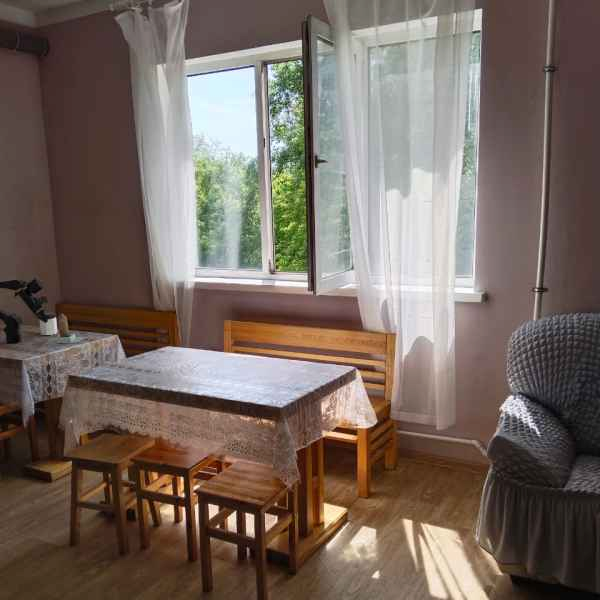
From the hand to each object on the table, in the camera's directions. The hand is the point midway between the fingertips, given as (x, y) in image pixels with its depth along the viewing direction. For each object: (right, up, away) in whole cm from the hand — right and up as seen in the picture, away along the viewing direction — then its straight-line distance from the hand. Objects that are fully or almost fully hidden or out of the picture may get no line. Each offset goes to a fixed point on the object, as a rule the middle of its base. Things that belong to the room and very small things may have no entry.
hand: (46, 322), depth 337 cm
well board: (+10, -10, +1) cm, 14 cm away
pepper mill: (+9, -10, +1) cm, 14 cm away
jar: (-6, -8, +18) cm, 20 cm away
